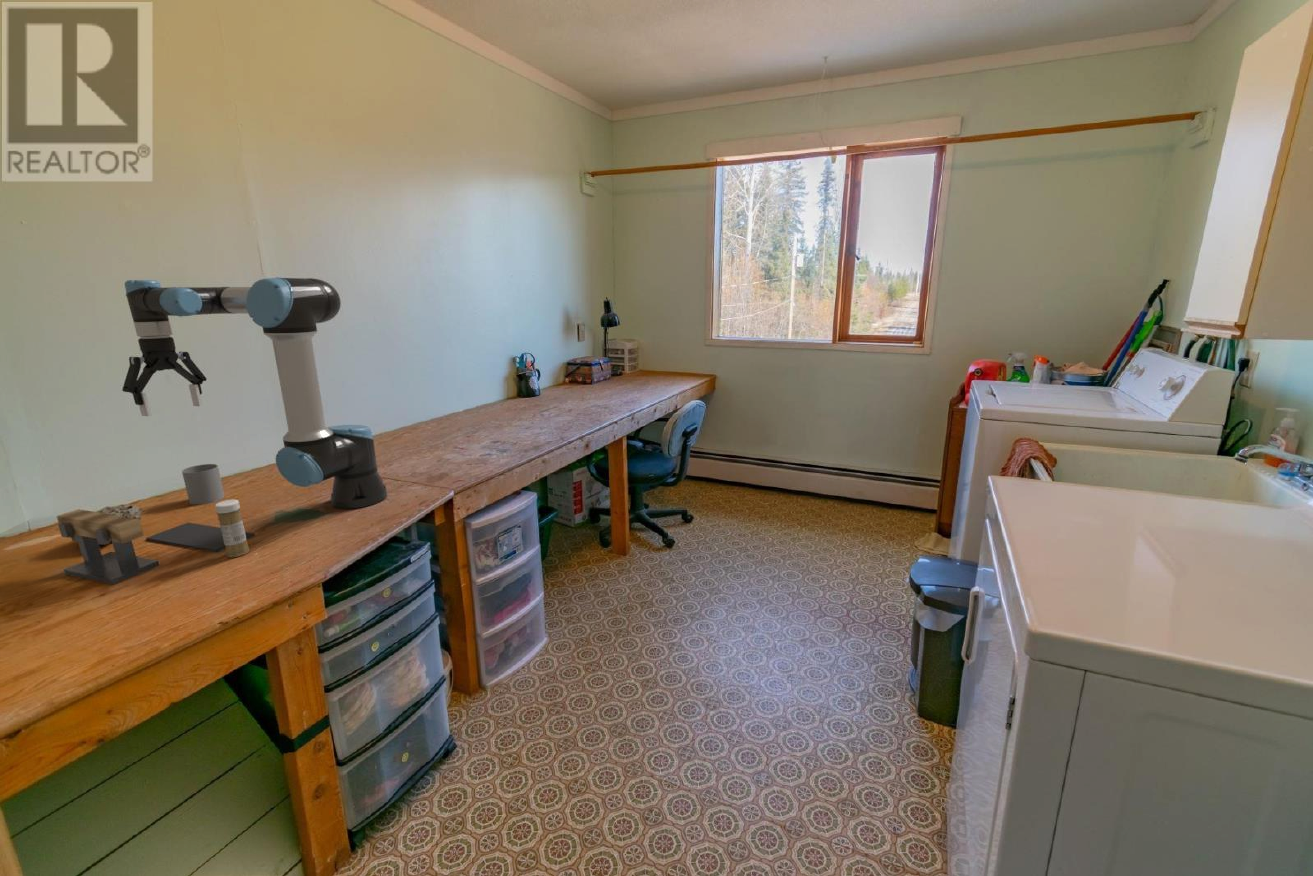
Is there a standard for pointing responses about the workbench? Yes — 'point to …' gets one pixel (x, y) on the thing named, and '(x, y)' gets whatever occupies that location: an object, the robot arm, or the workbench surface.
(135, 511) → the pumice stone
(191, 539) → the mat
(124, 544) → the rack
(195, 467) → the cup
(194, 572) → the workbench surface
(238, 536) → the sprinkles bottle
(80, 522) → the rail
